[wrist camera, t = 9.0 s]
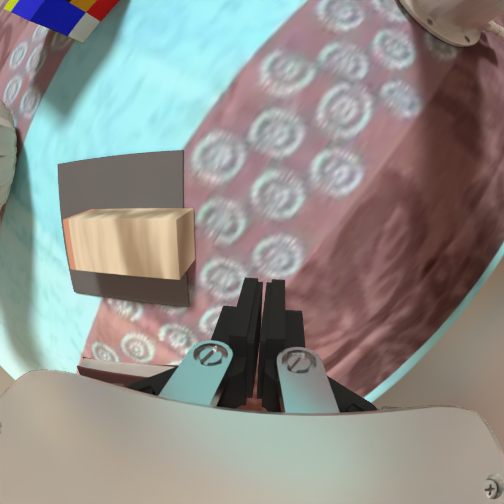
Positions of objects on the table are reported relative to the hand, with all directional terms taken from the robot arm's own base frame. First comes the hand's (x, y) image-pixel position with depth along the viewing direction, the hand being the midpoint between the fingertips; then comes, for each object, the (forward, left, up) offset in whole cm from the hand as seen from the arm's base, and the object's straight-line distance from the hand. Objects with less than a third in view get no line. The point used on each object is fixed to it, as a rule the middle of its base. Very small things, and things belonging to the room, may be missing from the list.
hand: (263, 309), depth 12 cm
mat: (+16, +1, -15) cm, 22 cm away
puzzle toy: (+23, -29, -15) cm, 40 cm away
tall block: (+7, +1, -12) cm, 14 cm away
